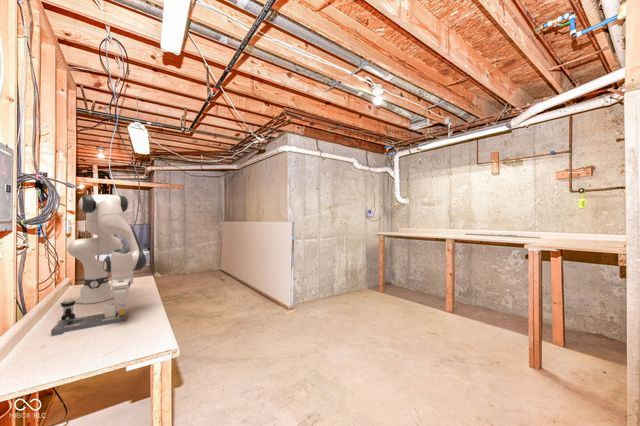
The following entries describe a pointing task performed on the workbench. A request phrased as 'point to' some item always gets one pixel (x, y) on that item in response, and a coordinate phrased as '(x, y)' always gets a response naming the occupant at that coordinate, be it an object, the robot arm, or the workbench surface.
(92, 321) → the panel
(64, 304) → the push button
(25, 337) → the workbench surface
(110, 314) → the plug
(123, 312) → the plate
